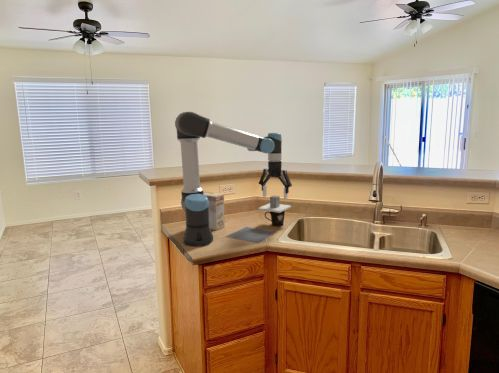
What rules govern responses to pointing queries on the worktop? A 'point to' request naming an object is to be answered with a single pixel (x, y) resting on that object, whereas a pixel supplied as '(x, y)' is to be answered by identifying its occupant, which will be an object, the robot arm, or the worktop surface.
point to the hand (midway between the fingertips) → (274, 197)
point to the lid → (275, 205)
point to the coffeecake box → (216, 210)
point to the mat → (251, 234)
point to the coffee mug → (276, 218)
